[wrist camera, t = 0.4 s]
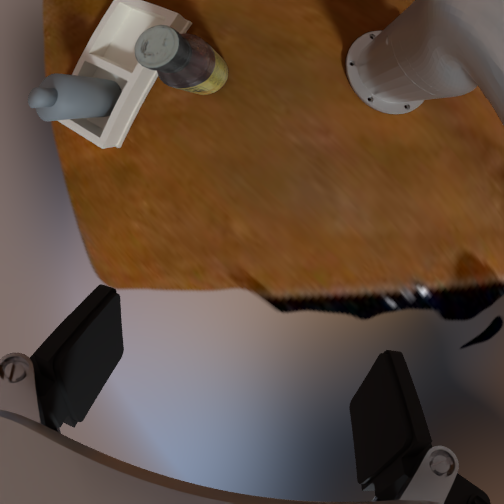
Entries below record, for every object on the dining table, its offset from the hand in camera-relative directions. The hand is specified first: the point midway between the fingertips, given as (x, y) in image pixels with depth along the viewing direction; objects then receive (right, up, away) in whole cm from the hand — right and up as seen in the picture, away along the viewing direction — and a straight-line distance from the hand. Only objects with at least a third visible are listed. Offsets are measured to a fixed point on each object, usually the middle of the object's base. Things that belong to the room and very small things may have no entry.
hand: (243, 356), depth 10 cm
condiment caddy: (-19, +31, +28) cm, 46 cm away
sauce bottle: (-6, +28, +27) cm, 40 cm away
